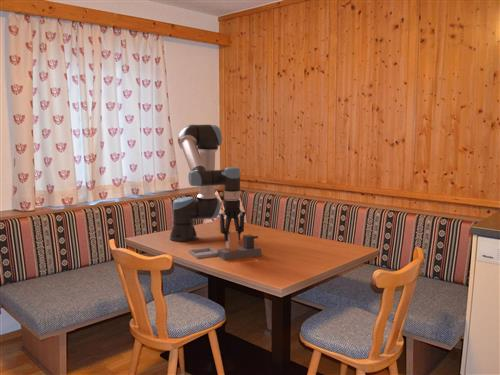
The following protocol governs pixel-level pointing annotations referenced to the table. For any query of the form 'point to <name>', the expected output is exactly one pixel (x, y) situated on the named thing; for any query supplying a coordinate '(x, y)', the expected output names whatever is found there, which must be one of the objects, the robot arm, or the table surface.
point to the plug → (233, 240)
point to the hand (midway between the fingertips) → (232, 246)
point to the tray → (203, 252)
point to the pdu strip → (242, 249)
